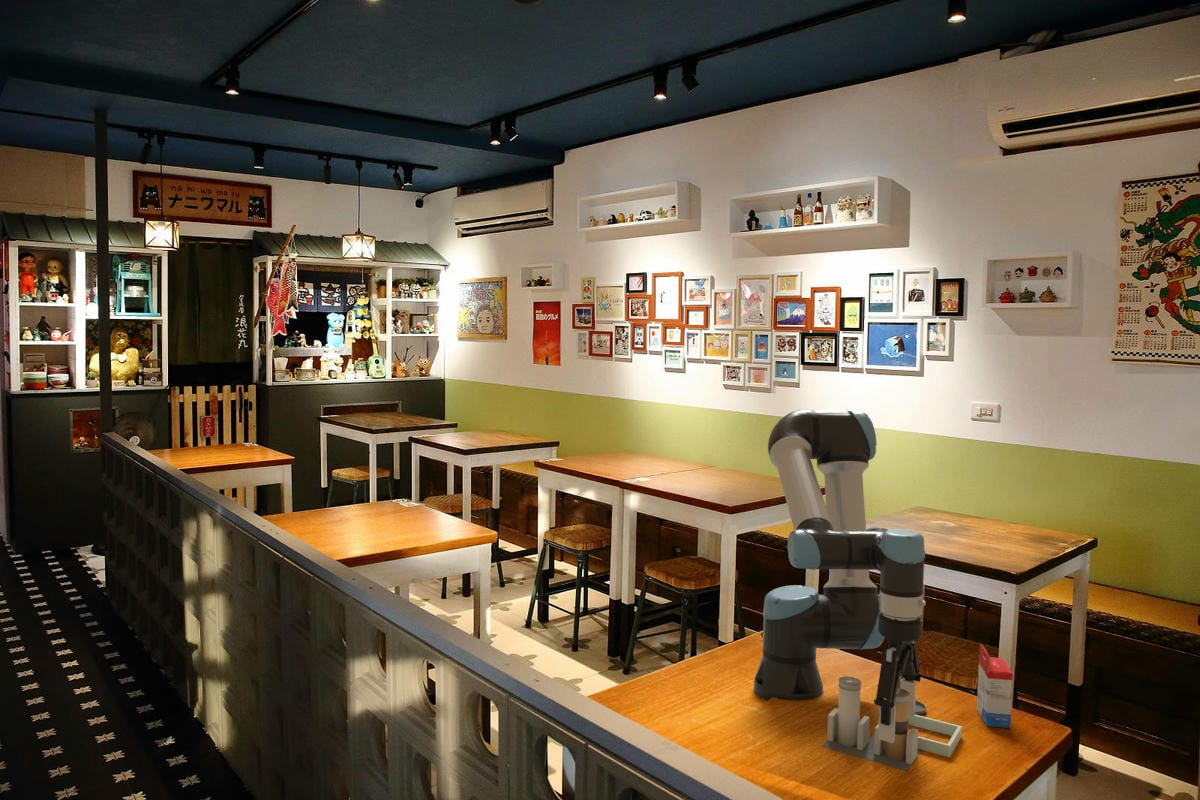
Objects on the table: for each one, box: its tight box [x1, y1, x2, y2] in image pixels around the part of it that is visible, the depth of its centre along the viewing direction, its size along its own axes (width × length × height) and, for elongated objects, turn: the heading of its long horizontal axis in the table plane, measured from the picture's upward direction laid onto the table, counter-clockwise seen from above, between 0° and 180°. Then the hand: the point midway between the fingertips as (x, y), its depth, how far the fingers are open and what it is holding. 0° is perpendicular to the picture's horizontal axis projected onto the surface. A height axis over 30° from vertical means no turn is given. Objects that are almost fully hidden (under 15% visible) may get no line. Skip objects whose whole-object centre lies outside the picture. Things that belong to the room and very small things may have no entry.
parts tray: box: [908, 714, 963, 758], centre depth 164 cm, size 12×10×4 cm
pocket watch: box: [898, 674, 927, 715], centre depth 179 cm, size 8×8×10 cm
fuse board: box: [821, 707, 923, 772], centre depth 160 cm, size 16×10×6 cm, turn 55°
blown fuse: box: [884, 688, 909, 760], centre depth 157 cm, size 4×4×12 cm
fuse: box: [837, 676, 862, 746], centre depth 162 cm, size 4×4×12 cm
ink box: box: [976, 643, 1014, 729], centre depth 176 cm, size 8×5×15 cm, turn 168°
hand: (897, 727), depth 157 cm, fingers open, 13 cm apart
